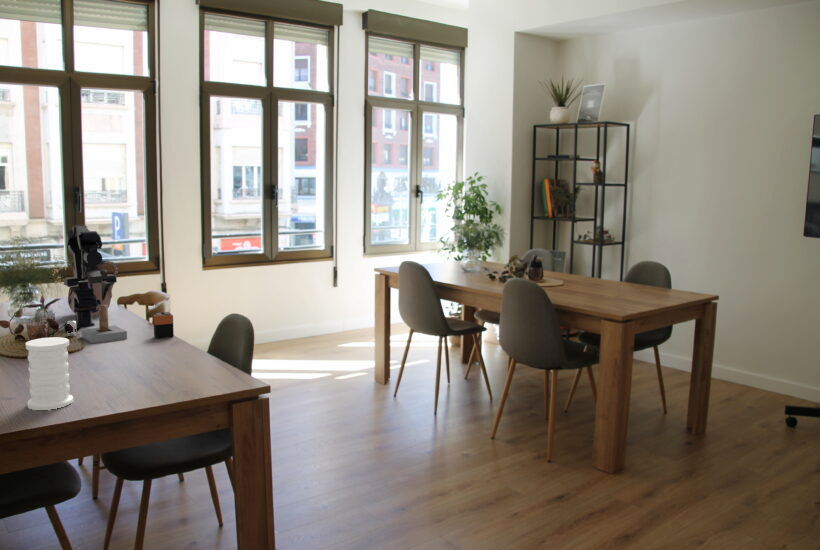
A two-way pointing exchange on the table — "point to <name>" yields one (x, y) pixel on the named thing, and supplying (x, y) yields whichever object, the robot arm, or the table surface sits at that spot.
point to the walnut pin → (103, 318)
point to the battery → (163, 325)
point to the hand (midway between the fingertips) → (91, 301)
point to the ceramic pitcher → (96, 289)
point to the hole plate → (104, 334)
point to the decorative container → (48, 373)
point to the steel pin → (73, 324)
